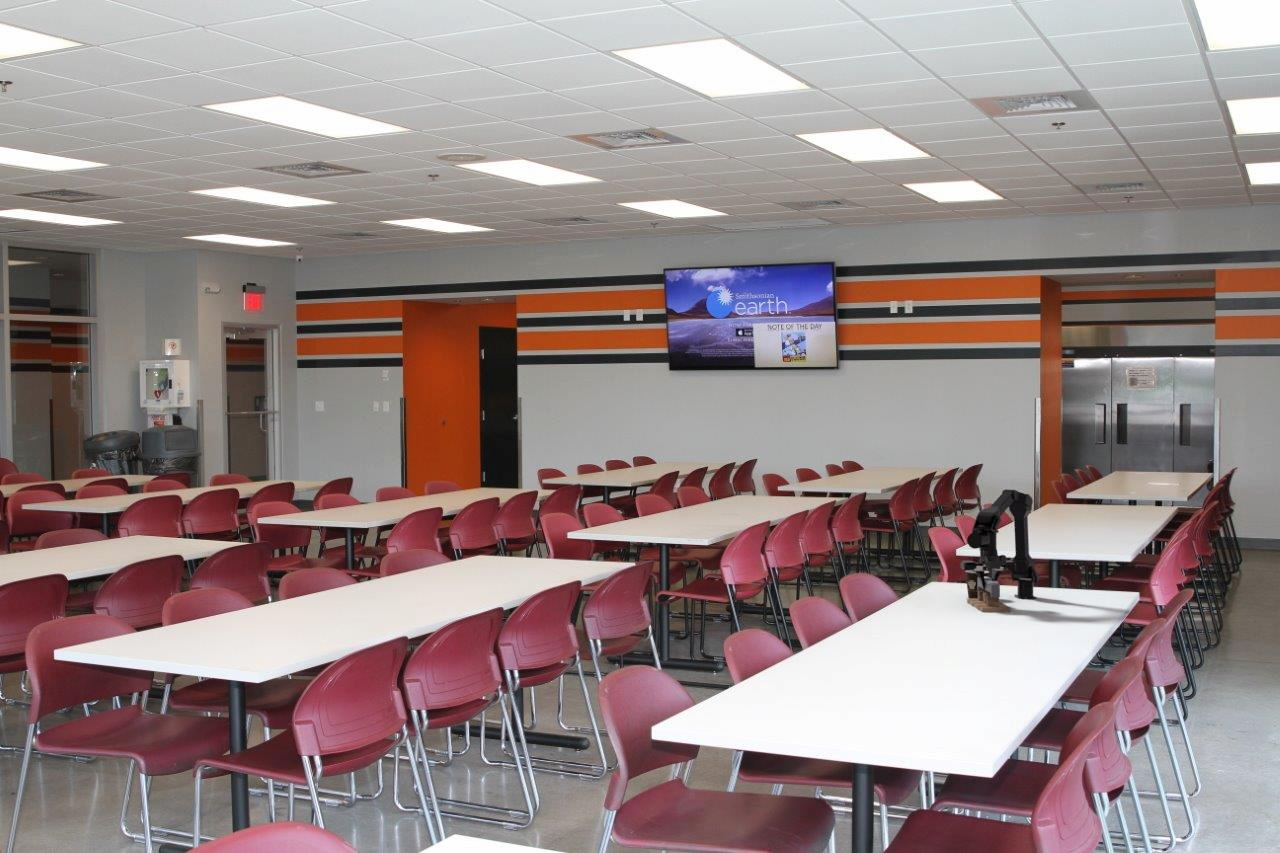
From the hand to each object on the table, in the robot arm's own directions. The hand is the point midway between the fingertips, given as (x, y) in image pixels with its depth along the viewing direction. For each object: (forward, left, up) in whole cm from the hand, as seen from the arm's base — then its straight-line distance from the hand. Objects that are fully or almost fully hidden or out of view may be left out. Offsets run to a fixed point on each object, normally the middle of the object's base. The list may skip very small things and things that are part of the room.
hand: (988, 589), depth 440 cm
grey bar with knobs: (0, 0, -2) cm, 2 cm away
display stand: (0, 0, -6) cm, 6 cm away
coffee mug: (-19, +2, -7) cm, 20 cm away
